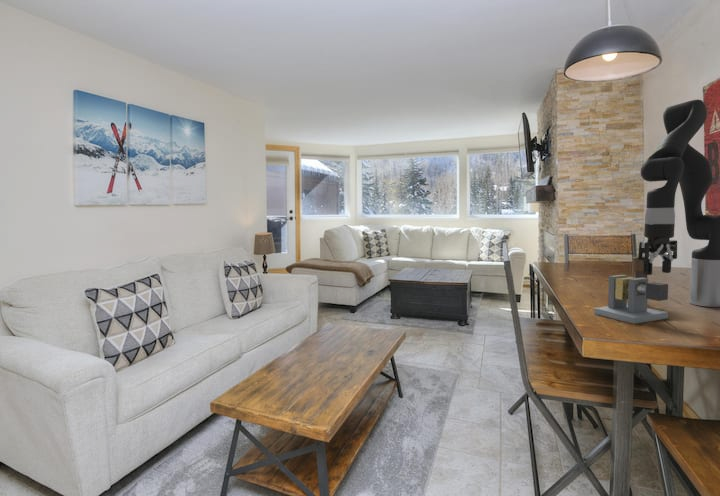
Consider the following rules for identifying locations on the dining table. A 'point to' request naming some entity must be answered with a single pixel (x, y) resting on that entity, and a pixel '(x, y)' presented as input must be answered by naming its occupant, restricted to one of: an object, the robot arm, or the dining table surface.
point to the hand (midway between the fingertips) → (657, 273)
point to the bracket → (629, 304)
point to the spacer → (622, 288)
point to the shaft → (653, 290)
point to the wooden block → (637, 269)
